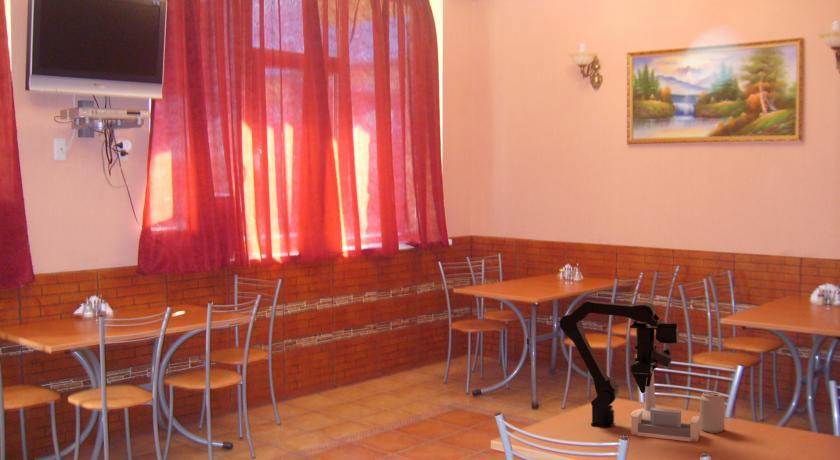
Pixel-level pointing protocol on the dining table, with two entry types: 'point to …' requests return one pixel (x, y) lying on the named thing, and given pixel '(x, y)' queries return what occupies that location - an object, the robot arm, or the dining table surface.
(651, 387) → the candlestick
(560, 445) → the dining table surface
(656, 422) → the grey rectangular block
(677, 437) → the track
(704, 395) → the can
